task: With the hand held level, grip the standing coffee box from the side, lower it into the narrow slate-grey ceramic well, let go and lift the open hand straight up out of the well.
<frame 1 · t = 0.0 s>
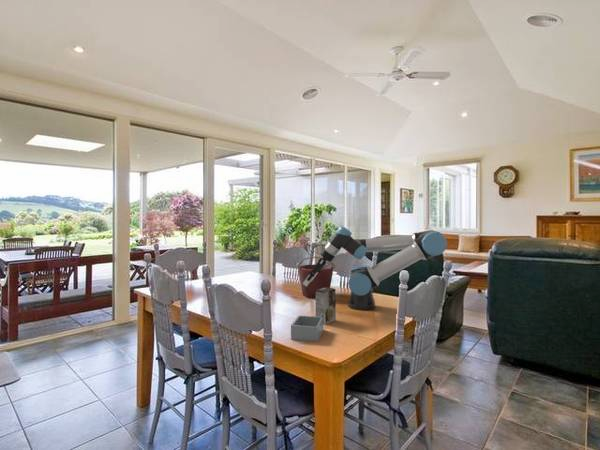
hand: (307, 282, 194), 15 cm above the table, tool tilted 35°, fingers open, 13 cm apart
coffee box: (325, 321, 174), on the table
grey well: (307, 334, 156), on the table
bucket: (316, 295, 228), on the table
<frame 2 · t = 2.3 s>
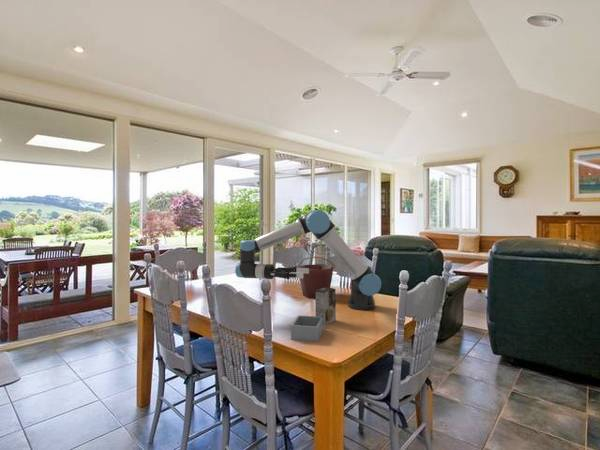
hand: (306, 273, 175), 24 cm above the table, tool horizontal, fingers open, 13 cm apart
nothing on the table moved.
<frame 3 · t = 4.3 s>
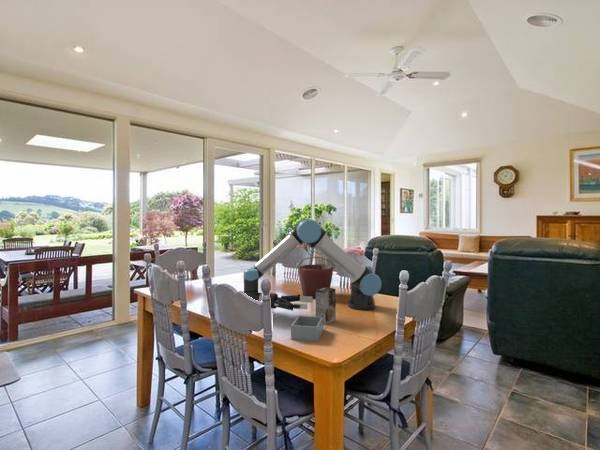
hand: (309, 302, 175), 9 cm above the table, tool horizontal, fingers open, 13 cm apart
nothing on the table moved.
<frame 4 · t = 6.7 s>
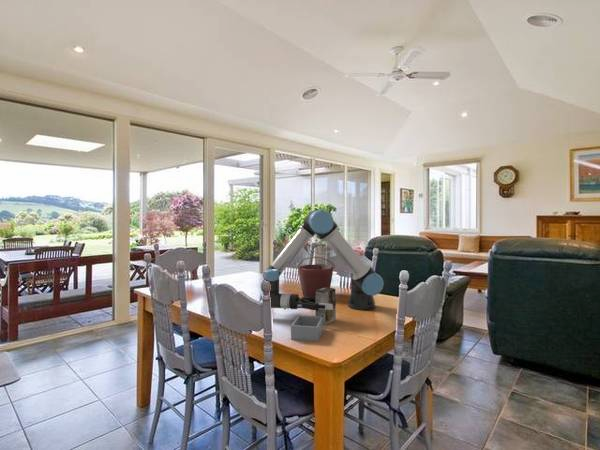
hand: (333, 303, 173), 9 cm above the table, tool horizontal, fingers closed on coffee box, 10 cm apart
coffee box: (325, 321, 174), on the table, touching gripper
everything else where it was.
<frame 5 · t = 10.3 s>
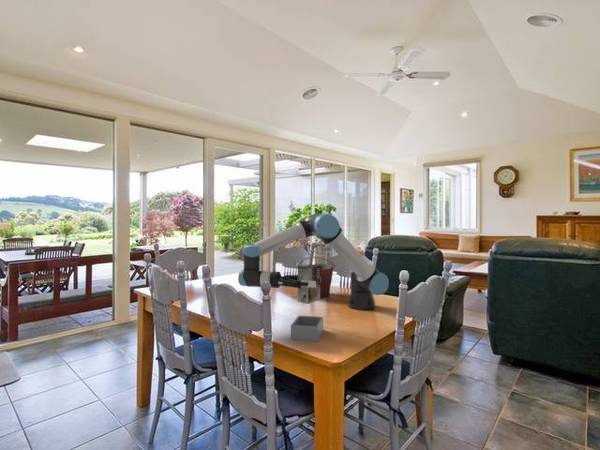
hand: (318, 281, 159), 23 cm above the table, tool horizontal, fingers closed on coffee box, 10 cm apart
coffee box: (309, 301, 160), point 13 cm above the table, touching gripper
everything else where it was.
when the fingers open (11 cm above the table, at t = 14.1 s): coffee box drops 2 cm, resting in grey well.
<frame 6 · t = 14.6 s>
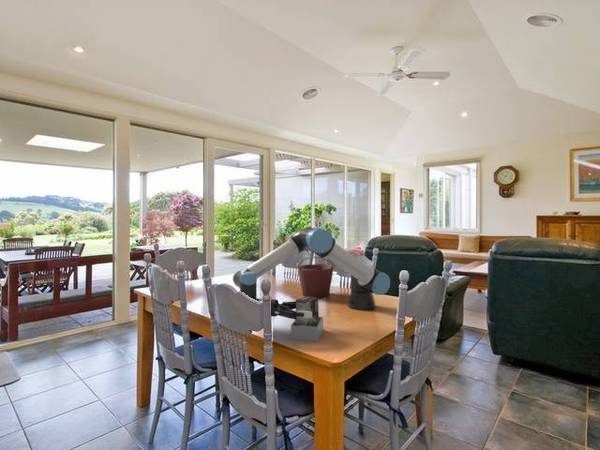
hand: (314, 310, 155), 11 cm above the table, tool horizontal, fingers open, 13 cm apart
coffee box: (307, 335, 156), resting in grey well
everything else where it was.
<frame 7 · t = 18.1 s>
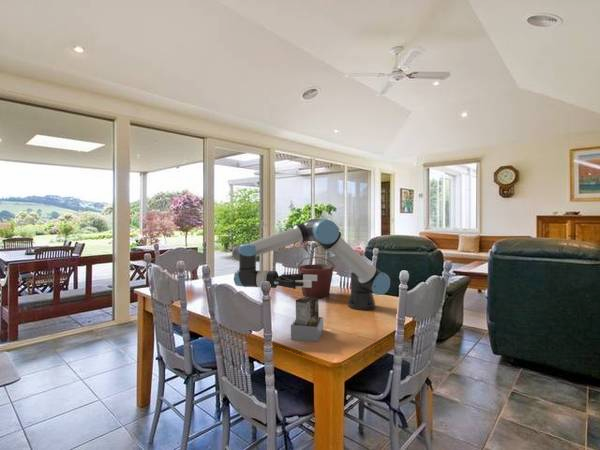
hand: (314, 281, 154), 24 cm above the table, tool horizontal, fingers open, 13 cm apart
nothing on the table moved.
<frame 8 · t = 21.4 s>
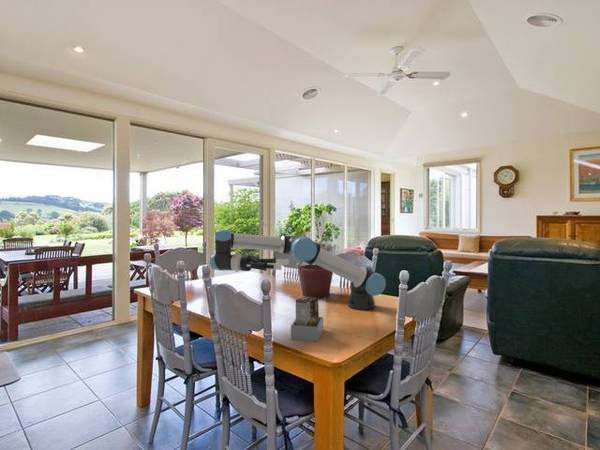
hand: (285, 264, 163), 30 cm above the table, tool horizontal, fingers open, 13 cm apart
nothing on the table moved.
at the end: coffee box inside the target area on the grey well (0.1 cm from its centre), point 0.0 cm above the grey well's base; coffee box tilted 0°; the gripper is holding nothing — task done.
